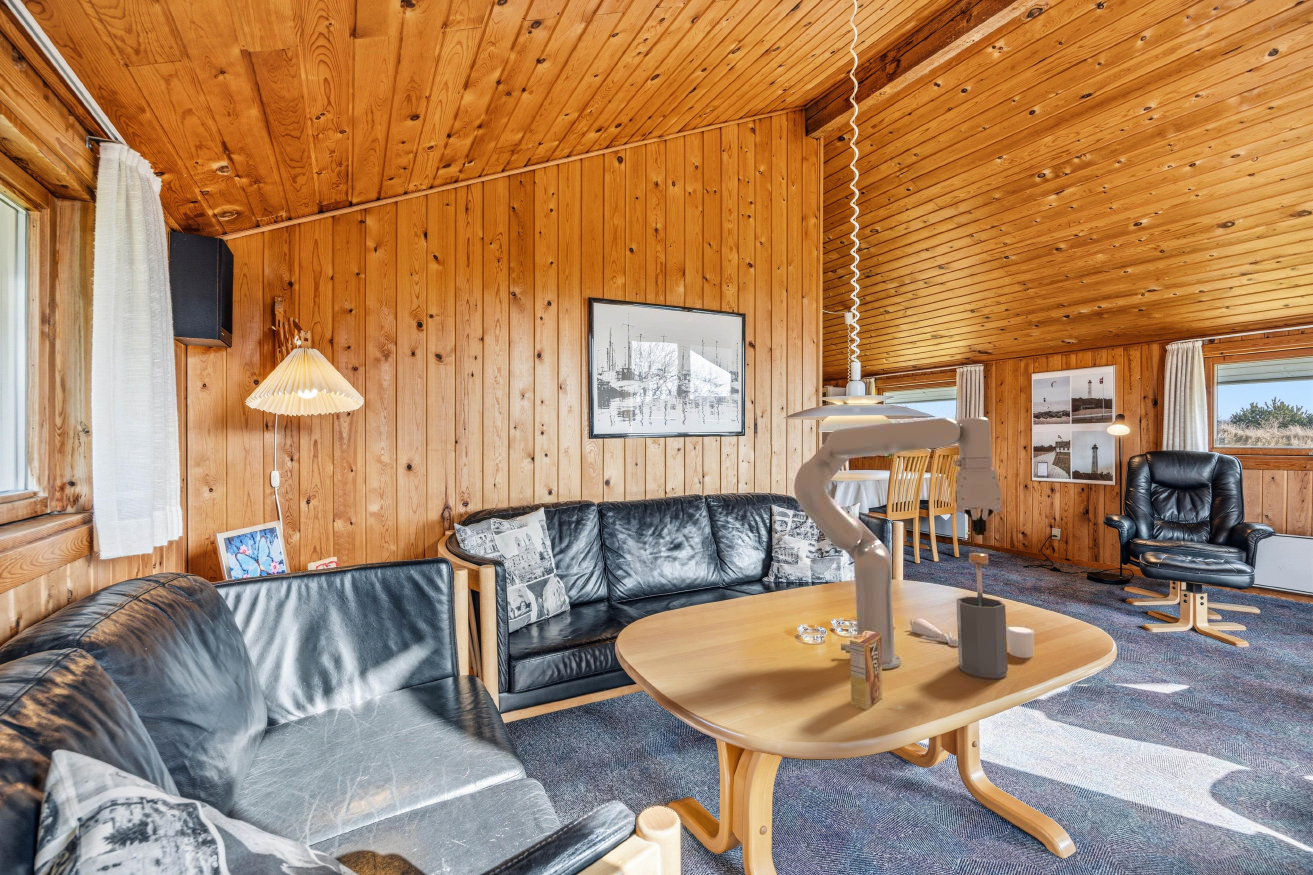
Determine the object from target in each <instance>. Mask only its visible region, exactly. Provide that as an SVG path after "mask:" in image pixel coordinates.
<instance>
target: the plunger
mask: <svg viewBox="0 0 1313 875" xmlns="http://www.w3.org/2000/svg"><path fill="white" fill-rule="evenodd" d="M968 563H970V564H971V565H975V567H976V590H977V592H976V594H977V596H976V597H978V606H979V607H983V597H984V596H983V592H984V591H983V570H982V569H983V568H982V566H983V565H989V554H988V553H984V552H970V553H968Z"/></svg>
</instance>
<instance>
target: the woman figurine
mask: <svg viewBox="0 0 1313 875" xmlns="http://www.w3.org/2000/svg"><path fill="white" fill-rule="evenodd" d="M909 625H910V626H911V627H910V628H911V632H912V633H913V634H916V635H917V634H918V635H920V638H921V639H923V640H924V639H925V640H932V641H937V642H942V643H944V644H945V643H947V644H948V646H950V647H957V648H958V637H953V636H952V631H951V630H948V632H949V633H948V632H945V633H944V632H941V630H939V629H938V628H937V627H935V626H934V625H933V624H932V623H930V622H928V621H927V620H926V619H924V618H915V619H914V621H912V619H910V620H909Z"/></svg>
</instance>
